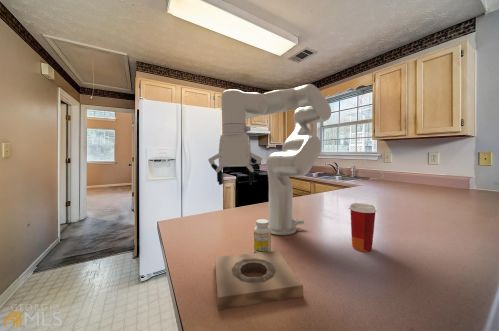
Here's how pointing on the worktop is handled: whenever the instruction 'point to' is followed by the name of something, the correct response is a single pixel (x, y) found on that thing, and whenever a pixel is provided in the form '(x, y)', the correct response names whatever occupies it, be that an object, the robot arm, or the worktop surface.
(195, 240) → the worktop surface
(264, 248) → the supplement bottle
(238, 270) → the seat board
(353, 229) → the paper cup
